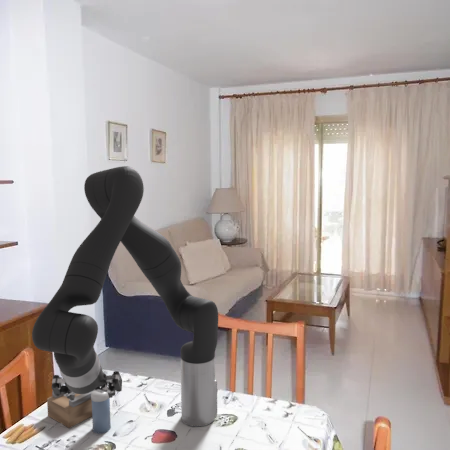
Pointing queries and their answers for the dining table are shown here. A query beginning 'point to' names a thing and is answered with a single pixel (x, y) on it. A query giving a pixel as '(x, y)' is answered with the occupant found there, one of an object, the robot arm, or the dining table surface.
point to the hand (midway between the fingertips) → (92, 394)
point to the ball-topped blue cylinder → (100, 412)
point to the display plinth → (70, 408)
